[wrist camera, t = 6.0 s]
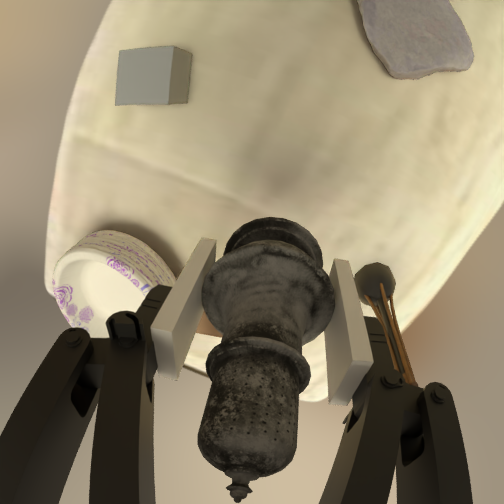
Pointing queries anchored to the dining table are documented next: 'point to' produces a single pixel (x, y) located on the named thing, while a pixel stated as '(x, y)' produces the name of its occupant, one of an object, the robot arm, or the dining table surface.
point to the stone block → (416, 36)
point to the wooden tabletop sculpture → (384, 312)
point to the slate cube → (153, 76)
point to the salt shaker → (261, 346)
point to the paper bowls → (106, 279)
